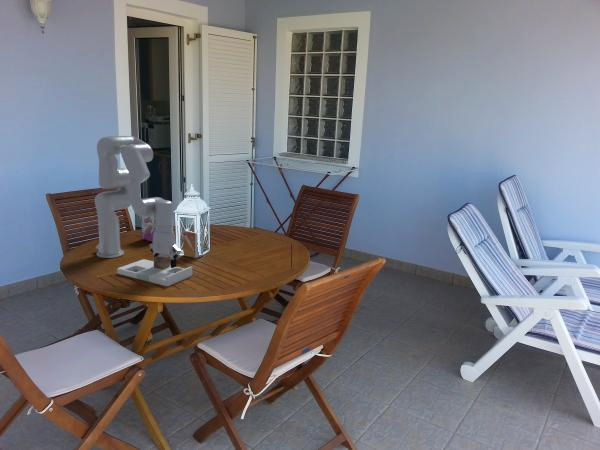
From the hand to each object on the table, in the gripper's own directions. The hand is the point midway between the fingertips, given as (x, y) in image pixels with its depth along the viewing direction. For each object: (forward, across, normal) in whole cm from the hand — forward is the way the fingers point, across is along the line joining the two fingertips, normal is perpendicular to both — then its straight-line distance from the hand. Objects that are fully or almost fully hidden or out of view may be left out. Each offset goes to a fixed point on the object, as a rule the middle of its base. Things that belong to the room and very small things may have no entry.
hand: (165, 265), depth 219 cm
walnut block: (+1, -2, 0) cm, 2 cm away
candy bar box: (+4, -43, +37) cm, 57 cm away
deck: (+4, -3, -4) cm, 6 cm away
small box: (+4, -7, +28) cm, 29 cm away
